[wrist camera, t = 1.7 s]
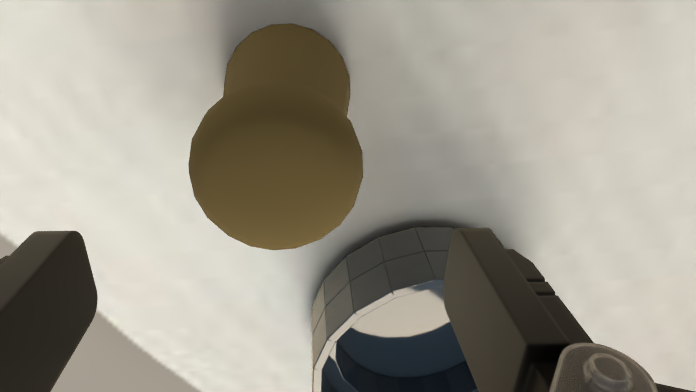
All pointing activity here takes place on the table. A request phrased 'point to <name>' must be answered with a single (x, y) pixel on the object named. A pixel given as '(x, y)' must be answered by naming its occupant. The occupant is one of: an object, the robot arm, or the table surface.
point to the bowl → (388, 320)
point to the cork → (279, 142)
